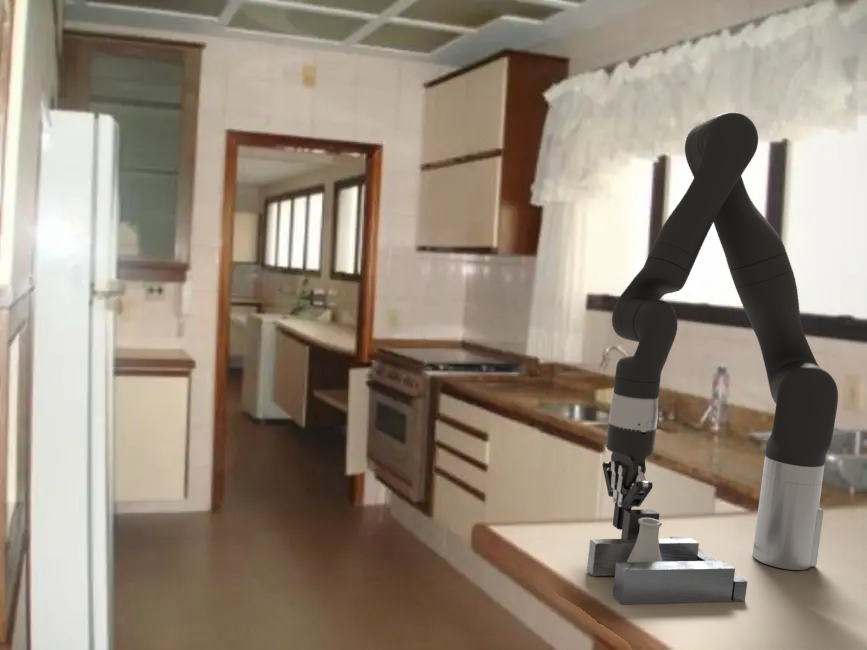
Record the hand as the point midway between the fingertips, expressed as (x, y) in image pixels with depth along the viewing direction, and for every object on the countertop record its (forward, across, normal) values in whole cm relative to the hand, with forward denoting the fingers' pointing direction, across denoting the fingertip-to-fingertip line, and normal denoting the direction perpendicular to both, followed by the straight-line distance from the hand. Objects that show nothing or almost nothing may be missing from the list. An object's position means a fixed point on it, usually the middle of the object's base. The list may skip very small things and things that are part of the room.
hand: (620, 527), depth 154 cm
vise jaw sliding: (+4, +8, 0) cm, 9 cm away
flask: (+5, +12, -2) cm, 13 cm away
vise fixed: (+4, +9, +1) cm, 11 cm away
